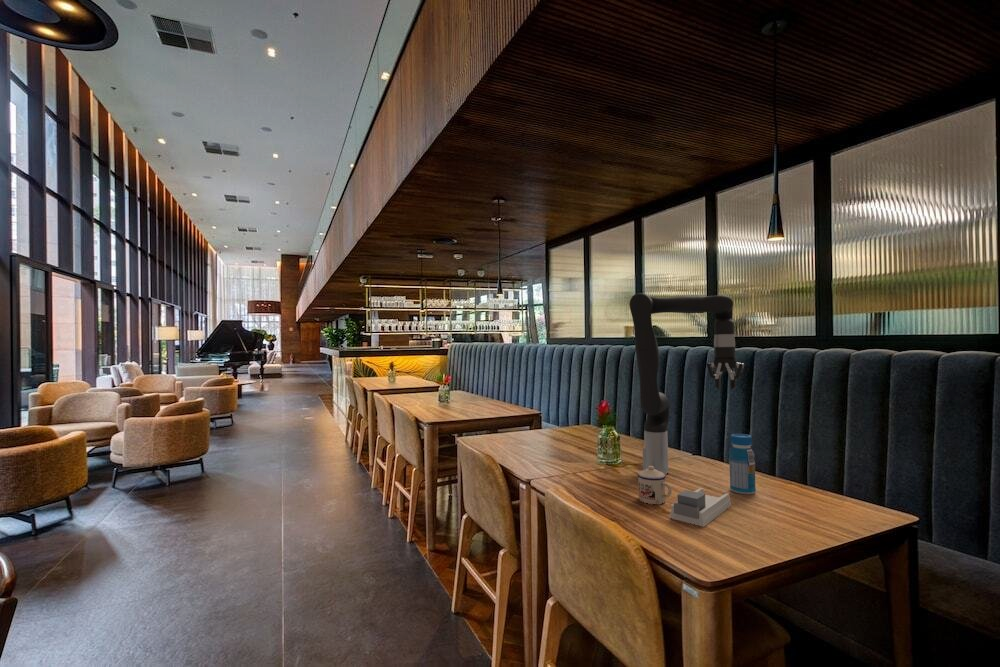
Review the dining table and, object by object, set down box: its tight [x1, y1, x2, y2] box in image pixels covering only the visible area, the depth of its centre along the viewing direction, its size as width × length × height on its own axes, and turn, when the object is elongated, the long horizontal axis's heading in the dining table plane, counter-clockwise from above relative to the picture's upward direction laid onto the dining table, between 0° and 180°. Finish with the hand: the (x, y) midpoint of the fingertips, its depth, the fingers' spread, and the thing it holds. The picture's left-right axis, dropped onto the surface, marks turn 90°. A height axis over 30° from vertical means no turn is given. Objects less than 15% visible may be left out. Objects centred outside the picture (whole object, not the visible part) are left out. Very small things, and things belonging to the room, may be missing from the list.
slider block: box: [676, 489, 706, 512], centre depth 139 cm, size 6×6×5 cm
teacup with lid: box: [637, 466, 673, 505], centre depth 154 cm, size 12×9×12 cm
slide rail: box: [669, 487, 732, 528], centre depth 144 cm, size 10×24×5 cm, turn 135°
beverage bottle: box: [728, 433, 757, 495], centre depth 164 cm, size 8×8×20 cm
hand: (725, 388), depth 180 cm, fingers open, 4 cm apart
